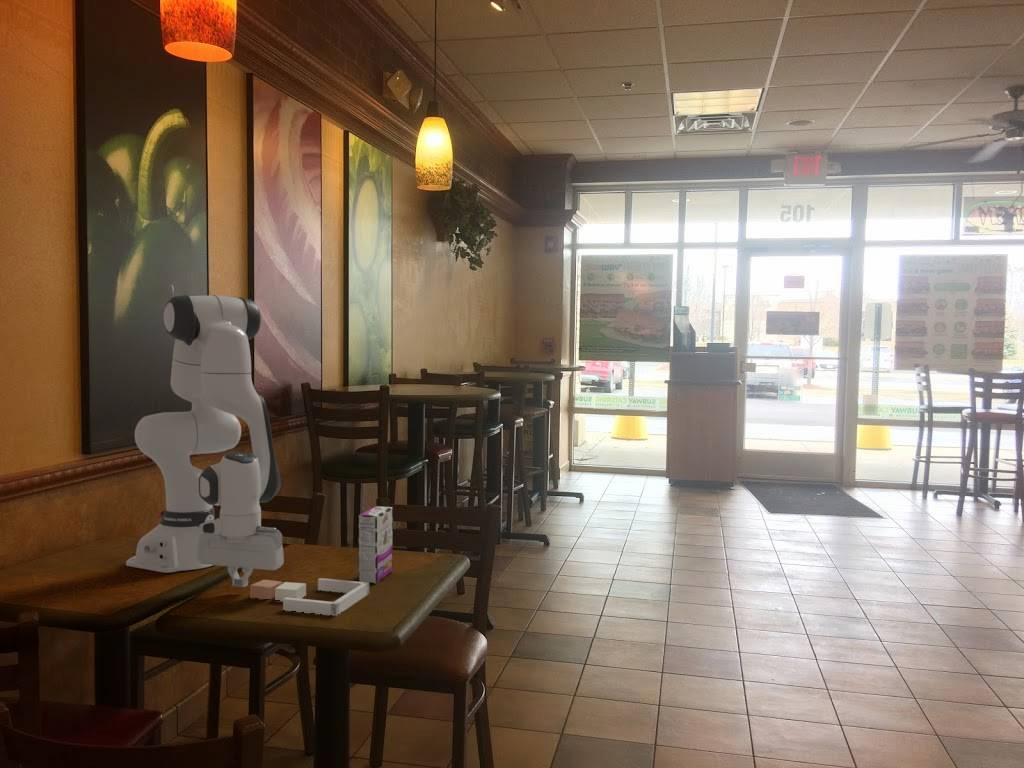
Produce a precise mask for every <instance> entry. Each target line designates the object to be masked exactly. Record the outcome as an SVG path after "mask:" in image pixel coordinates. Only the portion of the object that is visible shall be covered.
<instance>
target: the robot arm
mask: <svg viewBox="0 0 1024 768" xmlns="http://www.w3.org/2000/svg"><path fill="white" fill-rule="evenodd" d="M261 318H262V317H261V310H260V308H259V306H258V304H257V303H256V302H255V301H253V300H252V299H250V298H249V299H248V298H245V297H233V296H232V297H231V296H227V295H218V294H213V295H190V296H189V295H187V294H183V295H175V296H172V297H171V298H170V299H168V301H166V304H165V307H164V311H163V323H164V328H165V332H167V334H169V335H170V336H171V337H172V338H173V339H175V340H174V345H173V352H172V359H171V361H172V363H171V374H170V387H171V391H173V393H174V394H175V395H177V396H178V397H180V398H181V399H183V400H185V401H188V402H190V403H191V410H189V411H172V412H170V411H168V412H165V411H163V412H160V413H153V414H150V415H149V414H148V415H145V416H142V418H141V419H140V420H139V421H138V422H137V425H136V427H135V429H134V441H135V444H136V446H137V449H139V450H140V452H141V453H143V454H144V455H145V456H147V457H148V458H149V459H150V460H152V461H153V462H154V463H155V464H156V466H157V467H158V468H159V470H160V472H161V474H162V477H163V481H164V489H165V509H164V510H162V511H161V512H156V515H157V516H156V518H160V520H159V524H158V525H156V526H155V527H154V528H153V529H151V530H150V531H149V532H147V533H146V534H145V535H144V536H142V537H141V538H140V539H139V540H138V542H137V546H136V552H135V555H134V556H132V557H130V558H128V559H127V560H126V561H125V566H126V567H131V568H138V569H142V570H148V571H154V572H159V573H164V574H166V573H167V574H168V573H176V572H181V571H191V570H200V569H205V568H209V567H211V566H221V567H227V572H228V574H229V576H230V578H231V579H232V582H231V583H232V586H233V587H238V588H240V587H241V588H246V587H248V585H249V577H250V576H251V574H252V573H253V571H254V570H255V569H256V570H263V571H264V570H265V571H266V570H267V571H275V570H279V569H280V568H281V567H282V566H283V565H284V563H285V561H284V560H285V558H284V548H283V547H284V546H283V534H282V533H281V531H280V530H278V529H277V528H276V527H272V526H271V527H268V526H262V508H261V505H260V503H263V504H264V503H269V502H270V501H271V500H273V498H274V497H275V496H276V495H277V494H278V493H279V491H280V489H281V486H282V482H281V481H282V479H281V474H280V470H279V467H278V463H277V460H276V455H275V449H274V448H275V447H274V442H273V435H272V428H271V423H270V417H269V411H268V407H267V404H266V403H267V402H266V401H265V399H264V397H263V395H260V394H258V392H257V391H256V389H255V387H254V384H253V381H252V357H251V350H250V343H249V340H251V339H253V338H254V337H256V335H258V334H259V331H260V328H261V322H262V319H261ZM237 417H238V418H240V419H242V420H243V421H244V423H246V425H247V427H248V430H249V435H250V442H251V448H252V453H250V452H246V451H231V452H228V453H226V454H224V455H223V456H222V458H221V460H220V461H219V462H217V463H215V464H212V465H208V466H206V467H205V469H204V470H203V469H200V468H198V467H196V466H195V465H194V466H193V465H192V462H191V458H190V457H191V455H204V454H214V453H215V454H216V453H217V454H218V453H221V452H225V451H228V450H231V449H234V448H235V447H236V446H237V445H238V444H239V442H240V440H241V436H242V426H241V423H240V421H239V419H238V418H237ZM214 506H216V507H217V506H218V507H219V506H220V510H219V517H215V507H214ZM239 568H242V569H241V572H242V573H244V574H243V575H242V576H240V575H239V573H238V569H239Z"/></svg>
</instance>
